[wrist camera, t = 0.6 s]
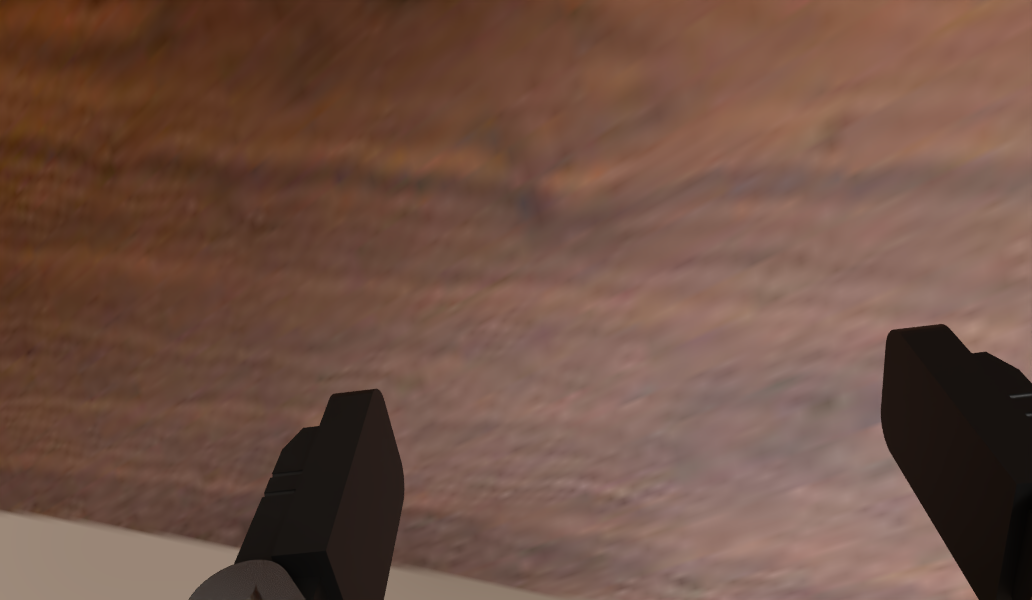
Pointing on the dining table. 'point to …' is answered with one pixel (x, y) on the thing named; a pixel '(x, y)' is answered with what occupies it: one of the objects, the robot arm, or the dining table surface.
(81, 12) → the dining table surface
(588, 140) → the dining table surface
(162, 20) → the dining table surface
